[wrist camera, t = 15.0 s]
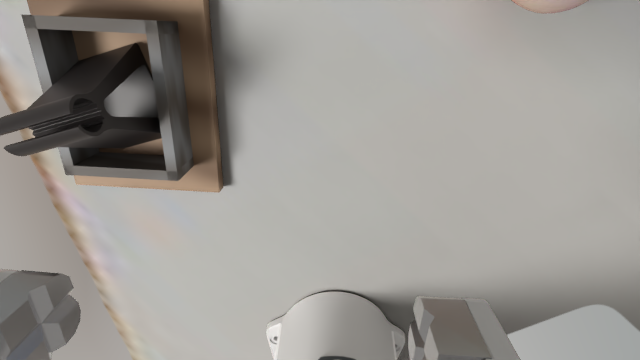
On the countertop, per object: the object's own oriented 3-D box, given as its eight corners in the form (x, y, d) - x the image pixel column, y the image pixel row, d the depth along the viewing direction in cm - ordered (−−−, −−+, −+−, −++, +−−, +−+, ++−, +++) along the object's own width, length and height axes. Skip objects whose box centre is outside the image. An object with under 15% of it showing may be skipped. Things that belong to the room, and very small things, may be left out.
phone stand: (178, 133, 36) (107, 181, 25) (126, 147, 36) (35, 198, 26) (138, 42, 32) (36, 50, 21) (82, 59, 33) (-45, 75, 22)
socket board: (223, 186, 40) (206, 210, 35) (85, 178, 40) (48, 200, 35) (207, -14, 31) (183, -22, 26) (34, -21, 32) (-23, -30, 27)
